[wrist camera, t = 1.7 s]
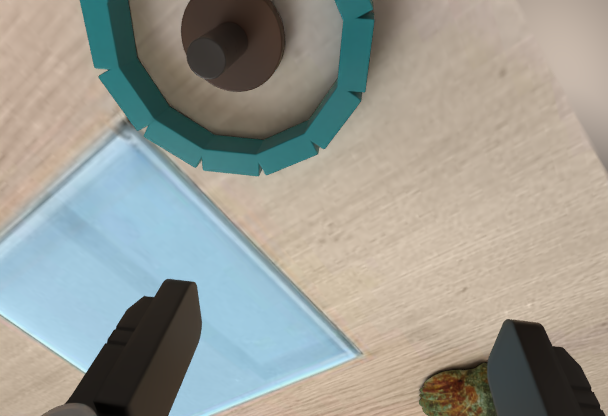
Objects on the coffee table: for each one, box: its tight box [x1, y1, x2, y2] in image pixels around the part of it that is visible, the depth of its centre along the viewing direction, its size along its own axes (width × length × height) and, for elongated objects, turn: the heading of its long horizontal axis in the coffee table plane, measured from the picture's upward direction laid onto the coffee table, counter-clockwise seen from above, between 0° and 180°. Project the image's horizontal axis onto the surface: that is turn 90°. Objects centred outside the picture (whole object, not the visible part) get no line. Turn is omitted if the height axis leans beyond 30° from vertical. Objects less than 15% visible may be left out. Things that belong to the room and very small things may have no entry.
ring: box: [80, 0, 375, 176], centre depth 24 cm, size 16×16×2 cm
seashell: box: [419, 363, 497, 416], centre depth 38 cm, size 10×4×10 cm
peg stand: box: [181, 0, 285, 92], centre depth 23 cm, size 6×6×6 cm
